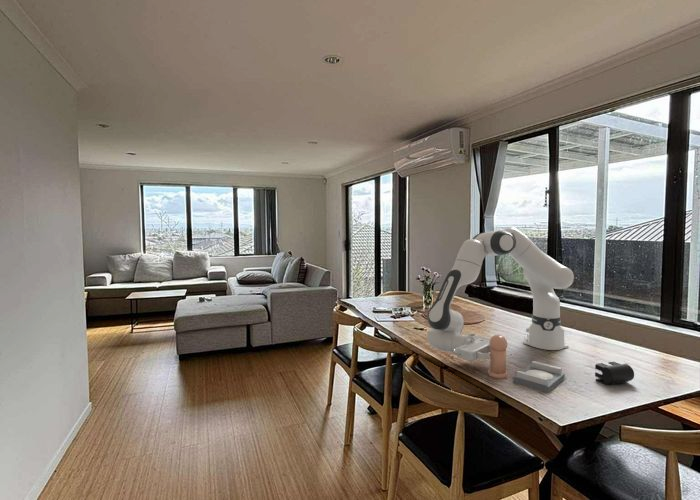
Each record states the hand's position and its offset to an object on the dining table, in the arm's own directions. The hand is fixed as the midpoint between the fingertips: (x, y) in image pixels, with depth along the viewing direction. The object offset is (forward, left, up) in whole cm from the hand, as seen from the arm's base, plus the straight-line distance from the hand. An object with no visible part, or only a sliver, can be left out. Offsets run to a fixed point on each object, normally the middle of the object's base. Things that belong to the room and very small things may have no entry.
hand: (496, 353), depth 141 cm
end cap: (-5, +40, -8) cm, 41 cm away
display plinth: (+1, +15, -8) cm, 17 cm away
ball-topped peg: (0, +1, -8) cm, 8 cm away
